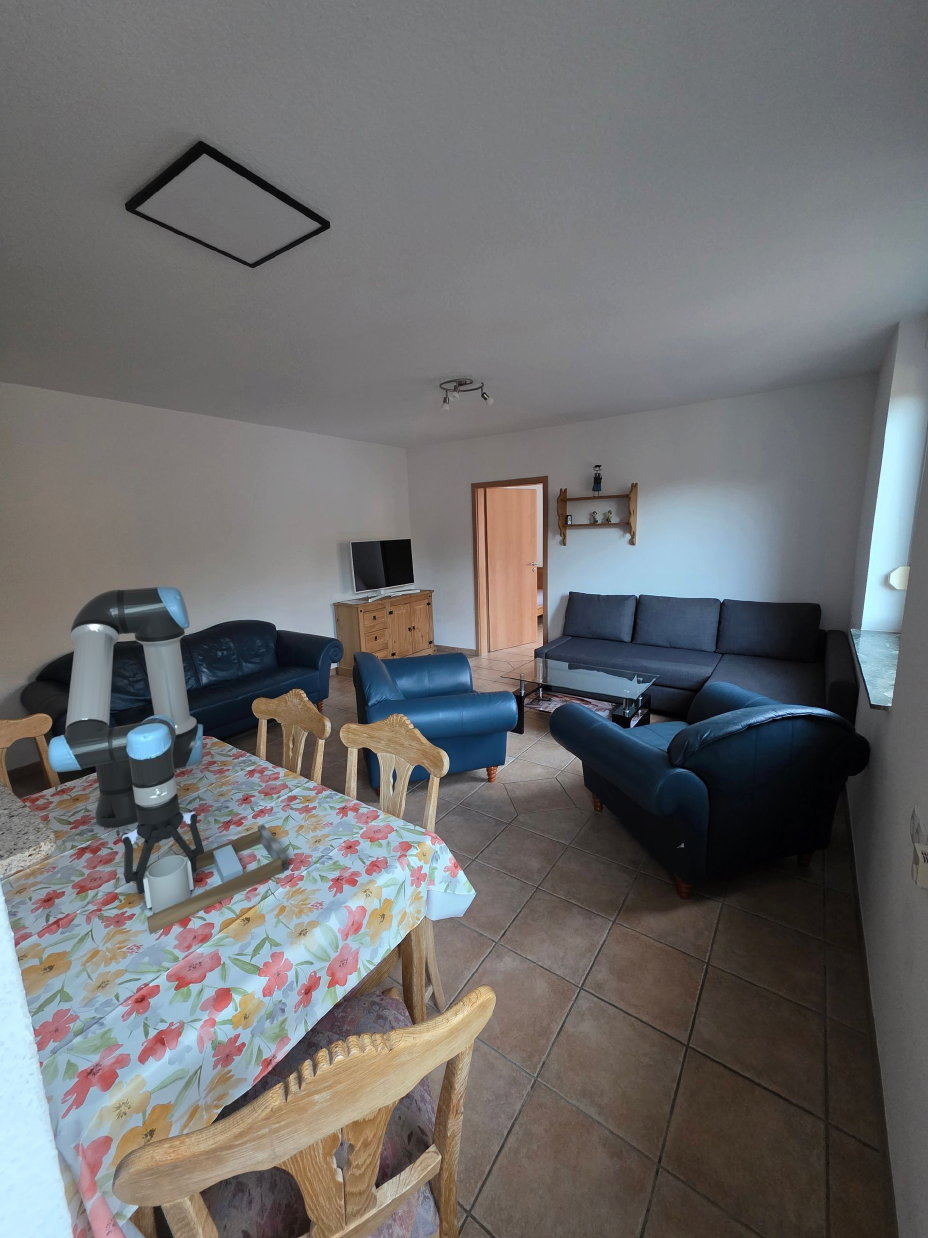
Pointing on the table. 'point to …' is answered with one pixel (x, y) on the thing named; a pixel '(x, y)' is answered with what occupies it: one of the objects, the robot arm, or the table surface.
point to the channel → (228, 887)
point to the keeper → (227, 863)
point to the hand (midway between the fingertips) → (169, 895)
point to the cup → (168, 882)
